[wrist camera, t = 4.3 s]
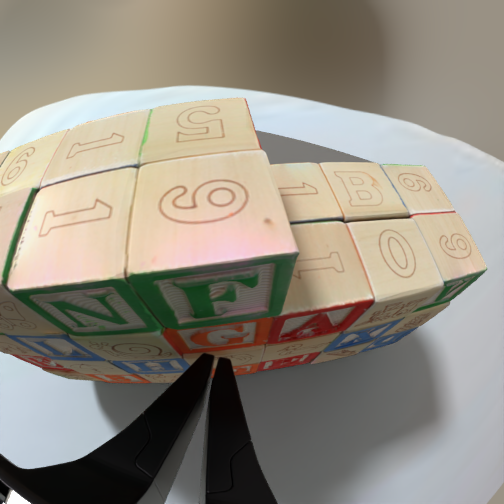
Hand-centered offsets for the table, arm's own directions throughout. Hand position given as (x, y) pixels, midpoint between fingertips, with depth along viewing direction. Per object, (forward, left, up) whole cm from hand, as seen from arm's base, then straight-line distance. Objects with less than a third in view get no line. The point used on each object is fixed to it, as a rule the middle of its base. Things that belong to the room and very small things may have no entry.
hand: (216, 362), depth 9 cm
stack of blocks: (+2, 0, -7) cm, 7 cm away
